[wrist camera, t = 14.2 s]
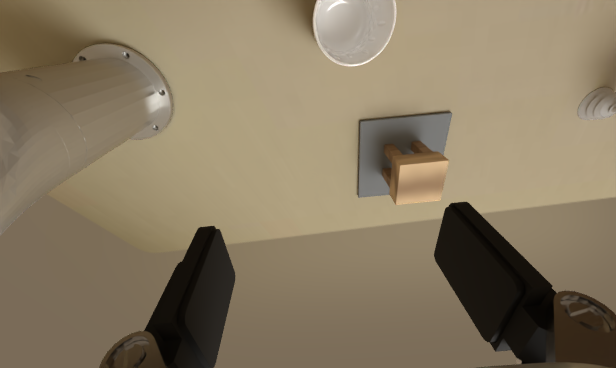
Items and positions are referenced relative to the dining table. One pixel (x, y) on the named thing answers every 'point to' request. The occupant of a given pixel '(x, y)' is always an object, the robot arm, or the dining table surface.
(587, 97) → the chalice
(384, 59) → the dining table surface
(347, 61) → the white cup
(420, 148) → the stool
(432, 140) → the mat
